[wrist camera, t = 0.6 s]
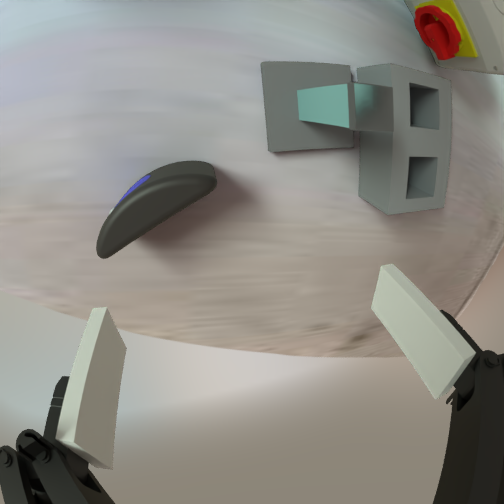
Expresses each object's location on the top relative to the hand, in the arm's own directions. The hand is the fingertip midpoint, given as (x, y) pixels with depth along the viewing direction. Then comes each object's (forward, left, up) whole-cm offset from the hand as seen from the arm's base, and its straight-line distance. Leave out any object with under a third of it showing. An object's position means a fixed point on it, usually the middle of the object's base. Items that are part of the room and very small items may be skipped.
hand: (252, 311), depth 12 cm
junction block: (-4, +27, -26) cm, 38 cm away
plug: (-8, +13, -25) cm, 30 cm away
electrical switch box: (-25, +37, -27) cm, 52 cm away
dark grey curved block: (+2, -8, -27) cm, 28 cm away
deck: (-8, +13, -26) cm, 31 cm away
